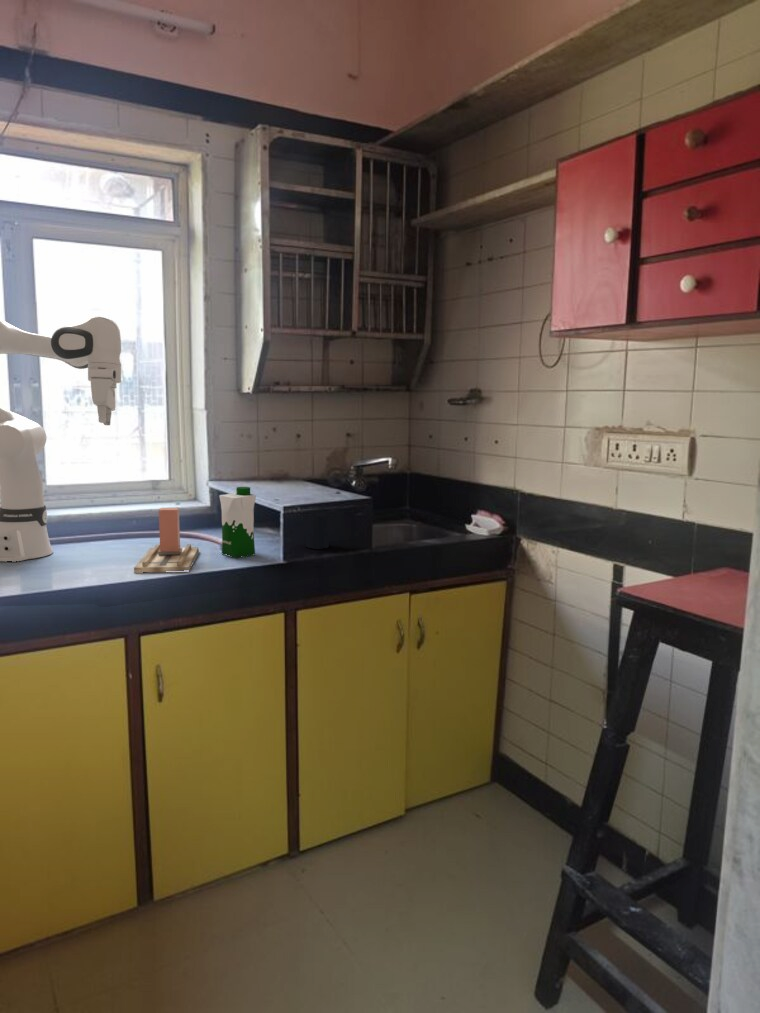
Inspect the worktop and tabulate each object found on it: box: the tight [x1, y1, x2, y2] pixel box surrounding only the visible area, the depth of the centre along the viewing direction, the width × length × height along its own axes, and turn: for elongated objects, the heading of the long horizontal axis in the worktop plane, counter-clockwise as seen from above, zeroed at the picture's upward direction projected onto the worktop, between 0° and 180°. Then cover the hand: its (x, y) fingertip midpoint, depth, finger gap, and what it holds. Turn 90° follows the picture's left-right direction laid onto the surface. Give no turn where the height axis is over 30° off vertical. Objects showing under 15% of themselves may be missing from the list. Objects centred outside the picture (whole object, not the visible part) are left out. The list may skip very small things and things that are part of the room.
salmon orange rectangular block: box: [158, 507, 183, 555], centre depth 202 cm, size 6×5×13 cm
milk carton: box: [219, 486, 257, 558], centre depth 208 cm, size 9×9×20 cm
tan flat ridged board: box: [133, 543, 199, 574], centre depth 199 cm, size 14×24×3 cm, turn 8°
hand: (104, 424), depth 201 cm, fingers open, 8 cm apart
